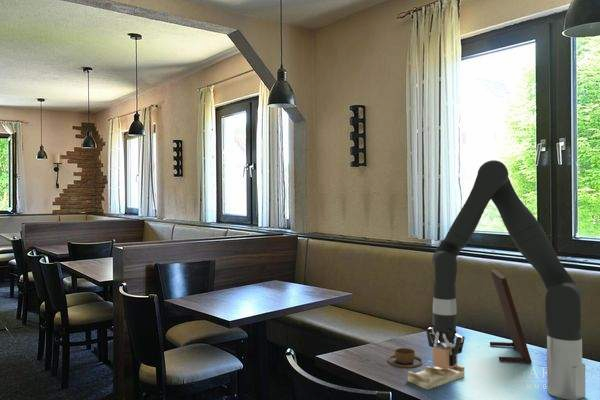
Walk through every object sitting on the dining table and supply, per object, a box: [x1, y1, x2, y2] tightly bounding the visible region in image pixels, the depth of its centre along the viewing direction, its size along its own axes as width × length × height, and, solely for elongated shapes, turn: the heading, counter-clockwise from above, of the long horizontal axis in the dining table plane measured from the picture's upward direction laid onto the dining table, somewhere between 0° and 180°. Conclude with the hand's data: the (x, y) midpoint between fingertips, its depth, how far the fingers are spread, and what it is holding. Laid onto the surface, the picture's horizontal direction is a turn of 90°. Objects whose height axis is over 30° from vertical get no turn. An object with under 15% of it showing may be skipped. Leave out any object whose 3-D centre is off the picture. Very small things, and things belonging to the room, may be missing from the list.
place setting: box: [387, 347, 423, 372], centre depth 171 cm, size 18×20×6 cm
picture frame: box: [489, 268, 533, 365], centre depth 182 cm, size 21×11×30 cm, turn 168°
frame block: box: [432, 343, 458, 369], centre depth 159 cm, size 5×6×6 cm
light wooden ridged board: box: [407, 364, 465, 391], centre depth 157 cm, size 8×18×3 cm, turn 125°
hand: (445, 363), depth 159 cm, fingers closed on frame block, 5 cm apart
